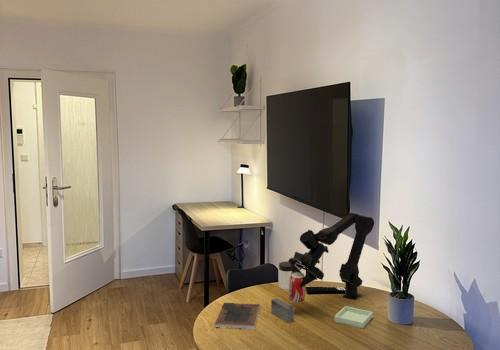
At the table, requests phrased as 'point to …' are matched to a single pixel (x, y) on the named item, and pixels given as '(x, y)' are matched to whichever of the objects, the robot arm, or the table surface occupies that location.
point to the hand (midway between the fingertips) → (295, 284)
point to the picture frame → (238, 316)
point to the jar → (284, 275)
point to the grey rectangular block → (282, 310)
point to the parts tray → (353, 317)
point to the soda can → (296, 287)
